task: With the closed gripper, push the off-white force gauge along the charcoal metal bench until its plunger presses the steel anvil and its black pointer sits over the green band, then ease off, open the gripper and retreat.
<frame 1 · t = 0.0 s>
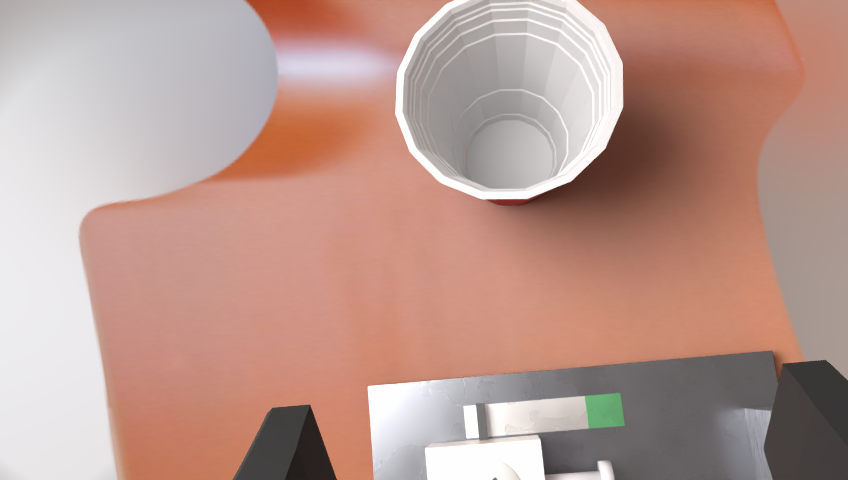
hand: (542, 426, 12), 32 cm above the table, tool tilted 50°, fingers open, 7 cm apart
gauge bench: (576, 475, 42), on the table
plastic cup: (505, 163, 46), on the table
gauge: (519, 467, 39), point 3 cm above the table, slide at 0.0 cm
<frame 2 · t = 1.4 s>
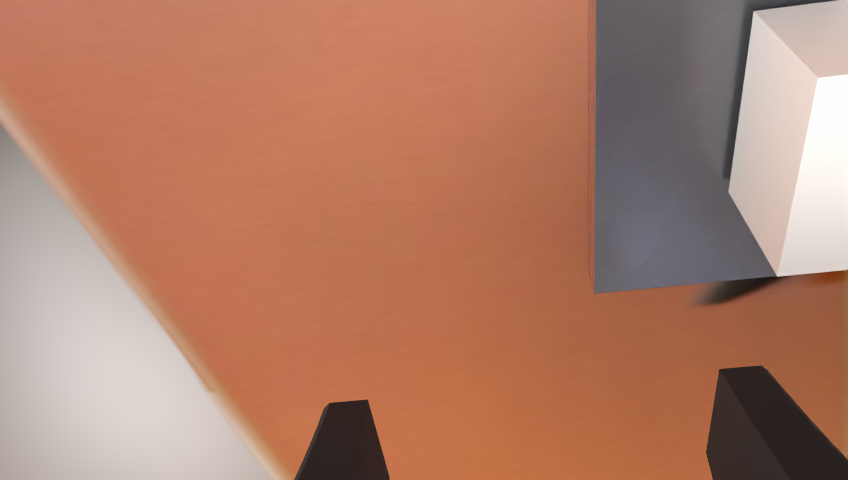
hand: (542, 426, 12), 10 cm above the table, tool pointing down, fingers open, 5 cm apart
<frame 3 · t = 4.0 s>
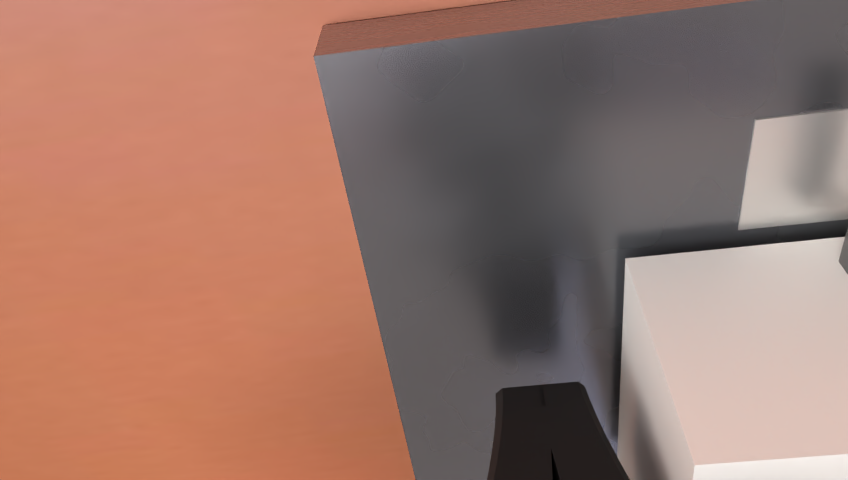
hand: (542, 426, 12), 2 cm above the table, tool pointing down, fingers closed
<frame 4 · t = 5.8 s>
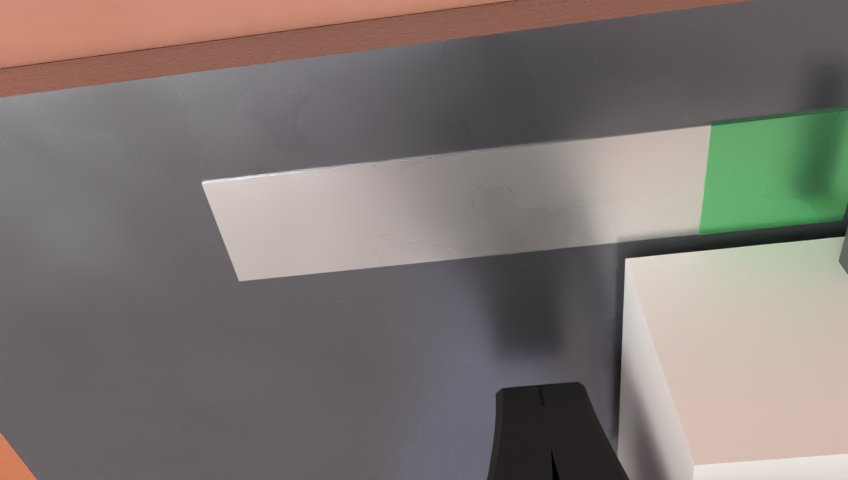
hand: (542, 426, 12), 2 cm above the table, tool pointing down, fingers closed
gauge bench: (617, 319, 13), on the table
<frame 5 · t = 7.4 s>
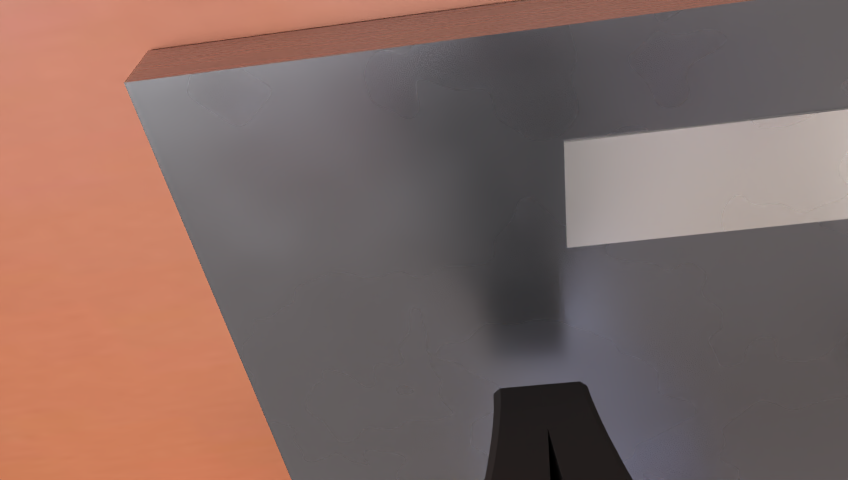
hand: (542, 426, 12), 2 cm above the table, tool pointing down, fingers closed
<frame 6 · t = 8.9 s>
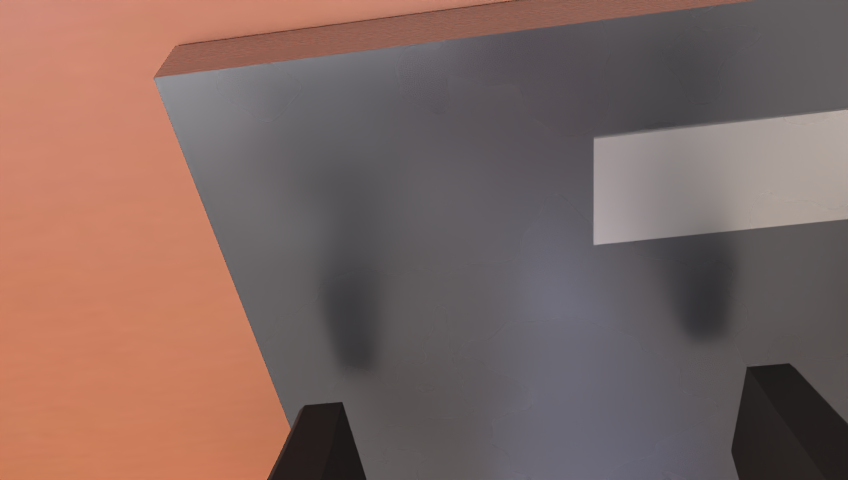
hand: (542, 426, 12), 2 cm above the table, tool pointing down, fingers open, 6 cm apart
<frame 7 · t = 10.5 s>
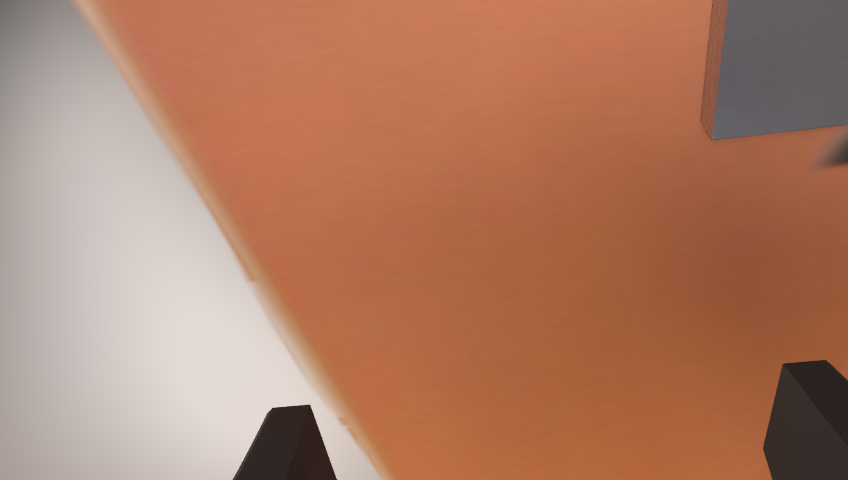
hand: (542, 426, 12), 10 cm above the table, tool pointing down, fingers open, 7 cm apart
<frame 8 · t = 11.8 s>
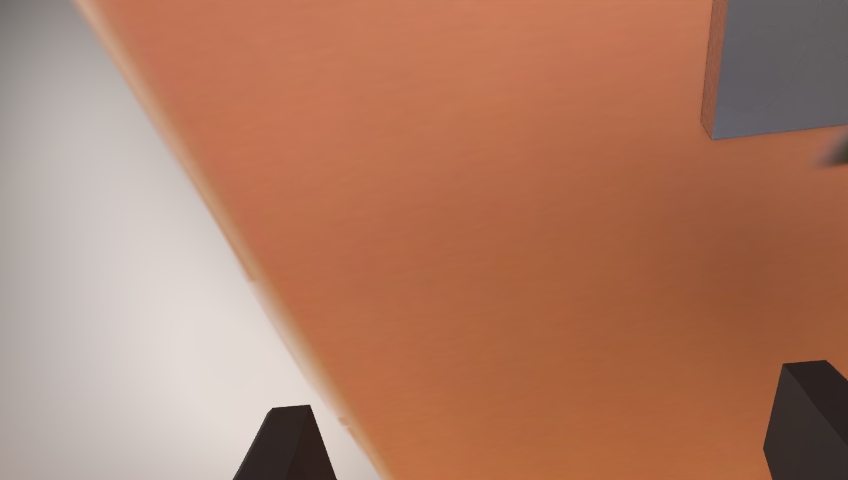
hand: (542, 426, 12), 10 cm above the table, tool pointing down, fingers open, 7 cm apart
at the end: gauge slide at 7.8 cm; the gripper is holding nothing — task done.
